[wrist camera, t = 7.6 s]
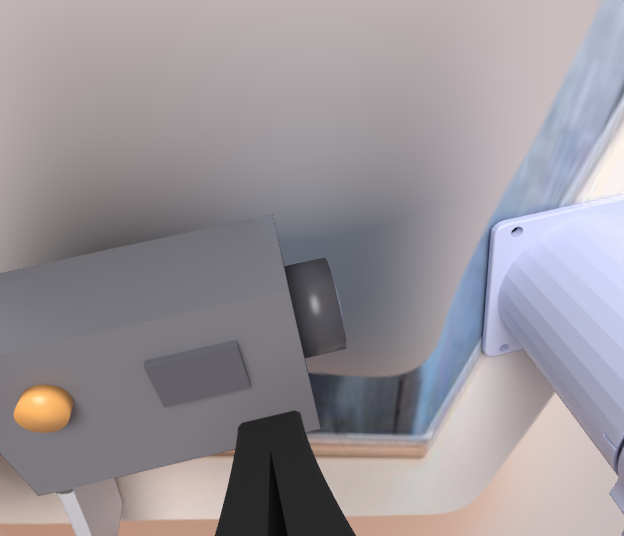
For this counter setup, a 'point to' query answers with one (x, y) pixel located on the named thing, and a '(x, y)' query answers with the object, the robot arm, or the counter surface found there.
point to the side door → (93, 508)
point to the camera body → (157, 352)
